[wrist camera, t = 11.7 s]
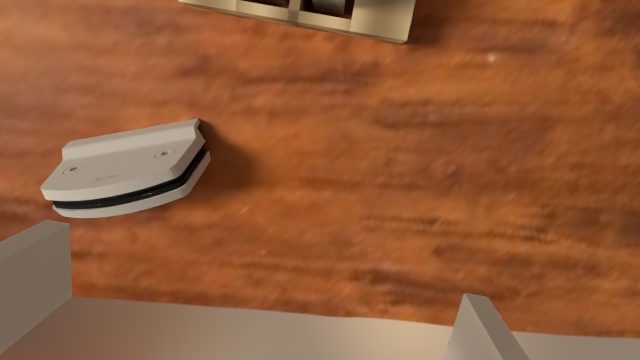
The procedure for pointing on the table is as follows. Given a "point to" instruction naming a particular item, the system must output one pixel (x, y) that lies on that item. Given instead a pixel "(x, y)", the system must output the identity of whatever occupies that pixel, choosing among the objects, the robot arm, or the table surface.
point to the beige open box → (326, 17)
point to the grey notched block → (322, 5)
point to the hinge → (127, 170)
